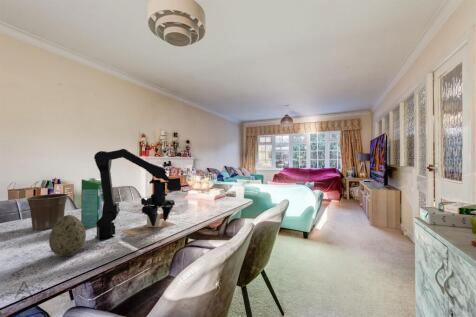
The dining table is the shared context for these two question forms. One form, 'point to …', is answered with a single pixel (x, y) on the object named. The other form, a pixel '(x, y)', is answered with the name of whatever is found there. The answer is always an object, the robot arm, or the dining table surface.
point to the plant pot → (46, 210)
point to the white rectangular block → (158, 220)
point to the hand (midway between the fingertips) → (159, 223)
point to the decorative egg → (67, 236)
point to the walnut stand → (146, 229)
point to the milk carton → (91, 201)
